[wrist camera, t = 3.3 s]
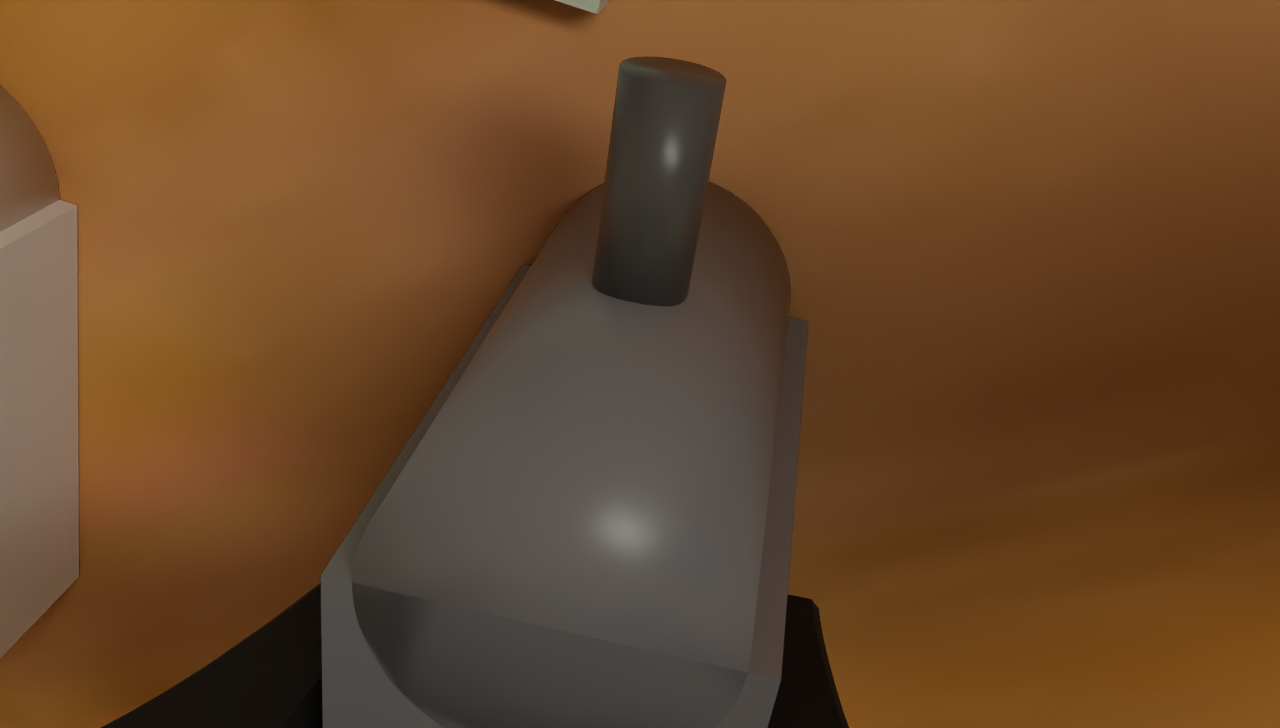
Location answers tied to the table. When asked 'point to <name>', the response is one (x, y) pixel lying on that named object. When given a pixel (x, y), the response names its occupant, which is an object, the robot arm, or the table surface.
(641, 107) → the charcoal plug
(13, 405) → the white plug
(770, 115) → the table surface
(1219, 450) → the table surface
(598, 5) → the sage pad
